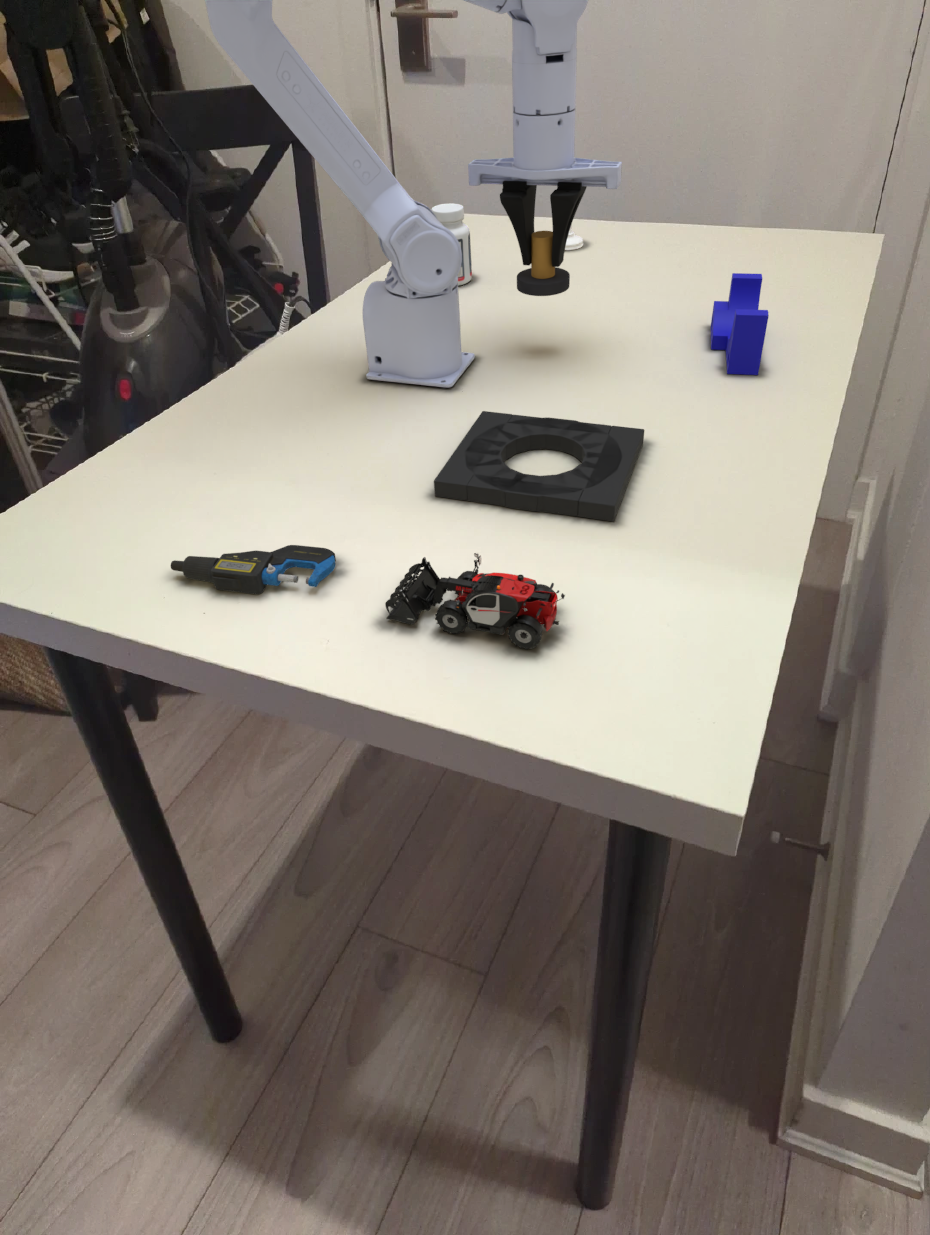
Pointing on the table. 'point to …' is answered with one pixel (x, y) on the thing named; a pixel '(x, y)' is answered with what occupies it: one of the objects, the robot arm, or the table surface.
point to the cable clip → (740, 325)
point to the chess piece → (573, 241)
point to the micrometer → (258, 568)
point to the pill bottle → (457, 235)
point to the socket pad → (570, 493)
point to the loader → (478, 602)
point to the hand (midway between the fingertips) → (543, 263)
